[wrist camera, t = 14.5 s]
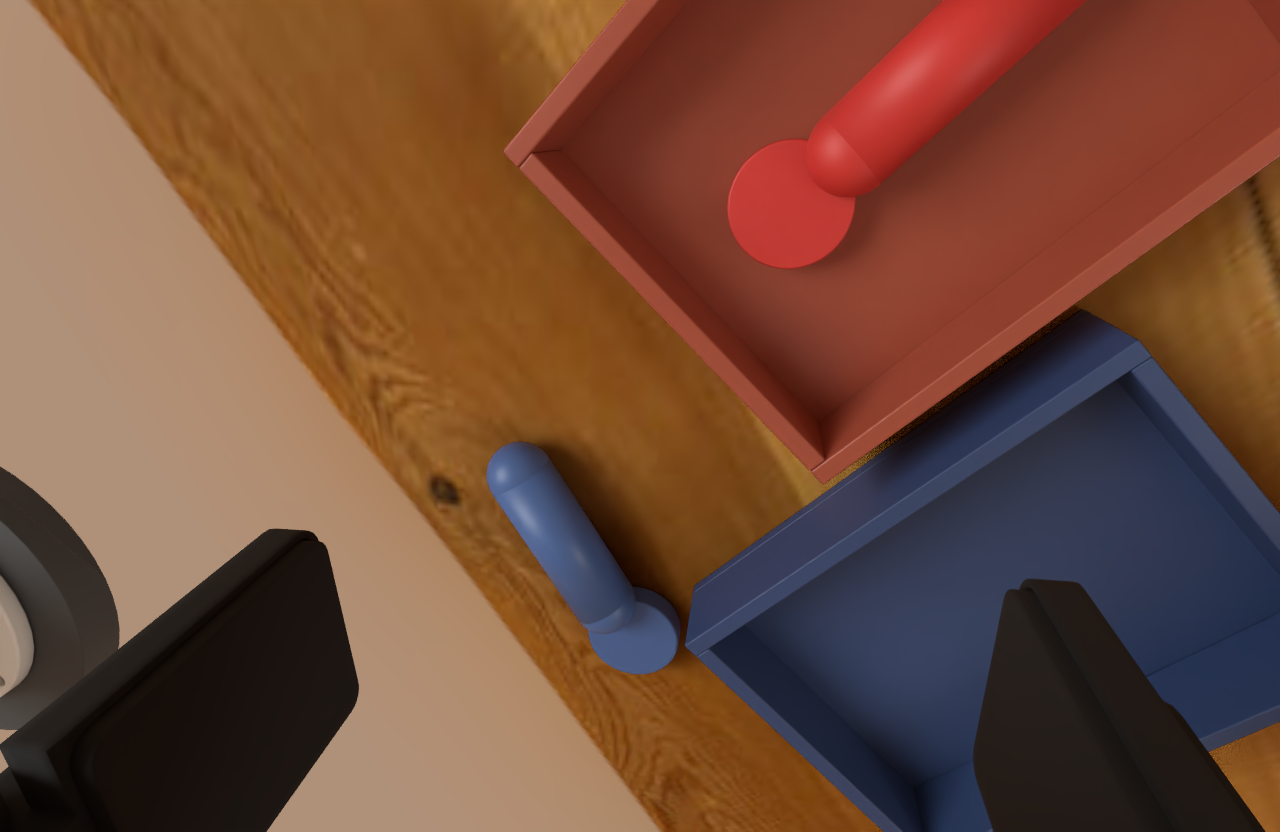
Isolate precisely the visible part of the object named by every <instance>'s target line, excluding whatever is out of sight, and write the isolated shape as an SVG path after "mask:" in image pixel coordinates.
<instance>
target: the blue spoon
mask: <svg viewBox="0 0 1280 832" xmlns="http://www.w3.org/2000/svg"><path fill="white" fill-rule="evenodd" d="M486 475H487V483H488V486H489V489H490V491H491V493H492V494H493V496H494V497H495V499H496V500H497V502H498V503H499V505H500V506H501V508H502V509H503V510H504V512H505V513H506V515H507V516H508V518H509V519H510V521H511V522H512V524H513V525H514V527H515V528H516V530H517V531H518V532H519V534H520V535H521V537H522V538H523V540H524V541H525V543H526V544H527V546H528V547H529V549H530V550H531V552H532V553H533V554H534V556H535V557H536V559H537V560H538V562H539V563H540V565H541V566H542V568H543V569H544V571H545V572H546V574H547V575H548V576H549V578H550V579H551V581H552V582H553V584H554V585H555V587H556V588H557V590H558V591H559V593H560V594H561V596H562V597H563V598H564V600H565V601H566V603H567V604H568V606H569V607H570V609H571V610H572V612H573V613H574V615H575V616H576V618H577V619H578V620H579V622H580V623H581V624H582V625H583V626H584V627H585V628H586V629H588V630H589V639H590V642H591V645H592V647H593V649H594V651H595V652H596V654H597V655H598V656H599V657H600V658H601V659H602V660H603V661H604V662H605V663H607V664H608V665H610V666H611V667H613V668H615V669H617V670H620V671H622V672H626V673H631V674H648V673H652V672H655V671H658V670H660V669H662V668H664V667H665V666H666V665H668V664H669V663H670V661H671V660H672V659H673V658H674V656H675V654H676V652H677V648H678V643H679V637H680V630H681V627H680V620H679V617H678V615H677V613H676V611H675V609H674V608H673V606H672V605H671V604H670V603H669V602H668V601H667V600H666V599H665V598H664V597H662V596H661V595H659V594H657V593H655V592H653V591H651V590H648V589H645V588H640V587H632V586H631V584H630V582H629V581H628V579H627V577H626V576H625V574H624V573H623V571H622V570H621V568H620V567H619V565H618V563H617V562H616V560H615V559H614V557H613V556H612V554H611V553H610V551H609V550H608V548H607V546H606V545H605V543H604V542H603V540H602V539H601V537H600V536H599V534H598V533H597V531H596V529H595V528H594V526H593V525H592V523H591V522H590V520H589V519H588V517H587V515H586V514H585V512H584V511H583V509H582V508H581V506H580V505H579V503H578V502H577V500H576V498H575V497H574V495H573V494H572V492H571V491H570V489H569V488H568V486H567V484H566V483H565V481H564V480H563V478H562V477H561V475H560V474H559V472H558V471H557V469H556V467H555V466H554V464H553V463H552V461H551V460H550V458H549V457H548V455H547V454H546V453H545V452H544V451H543V450H542V449H541V448H540V447H538V446H536V445H534V444H531V443H528V442H513V443H510V444H507V445H505V446H503V447H501V448H500V449H499V450H498V451H497V452H496V453H495V454H494V455H493V456H492V458H491V460H490V462H489V464H488V467H487V474H486Z"/></svg>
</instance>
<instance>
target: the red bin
mask: <svg viewBox="0 0 1280 832" xmlns="http://www.w3.org/2000/svg"><path fill="white" fill-rule="evenodd" d="M941 1H943V0H627V1H626V2H625V3H624V5H623V6H622V7H621V8H620V9H619V11H618V12H617V13H616V14H615V15H614V17H613V18H612V19H611V20H610V22H609V23H608V24H607V25H606V26H605V28H604V29H603V30H602V31H601V32H600V34H599V35H598V36H597V37H596V38H595V40H594V41H593V42H592V43H591V45H590V46H589V47H588V48H587V49H586V51H585V52H584V53H583V54H582V55H581V57H580V58H579V59H578V60H577V62H576V63H575V64H574V65H573V66H572V68H571V69H570V70H569V71H568V72H567V74H566V75H565V76H564V77H563V79H562V80H561V81H560V82H559V83H558V85H557V86H556V87H555V88H554V89H553V91H552V92H551V93H550V94H549V96H548V97H547V98H546V99H545V100H544V102H543V103H542V104H541V105H540V106H539V108H538V109H537V110H536V111H535V112H534V114H533V115H532V116H531V117H530V119H529V120H528V121H527V122H526V123H525V125H524V126H523V127H522V128H521V129H520V131H519V132H518V133H517V134H516V136H515V137H514V138H513V139H512V140H511V142H510V143H509V144H508V145H507V146H506V148H505V149H504V151H503V152H504V154H505V155H506V156H507V157H508V158H509V159H510V160H511V161H512V162H513V163H514V164H515V165H516V166H517V167H520V170H521V171H522V173H523V174H524V175H525V176H526V177H527V178H528V179H529V180H530V181H531V182H532V183H533V184H534V185H535V186H536V187H537V188H538V189H539V190H540V191H541V192H542V193H543V194H544V195H545V196H546V197H547V198H548V200H549V201H550V202H551V203H552V204H553V205H554V206H555V207H556V208H557V209H558V210H559V211H560V212H561V213H562V214H563V215H564V216H565V217H566V218H567V219H568V220H569V221H570V222H571V223H572V224H573V226H574V227H575V228H576V229H577V230H578V231H579V232H580V233H581V234H582V235H583V236H584V237H585V238H586V239H587V240H588V241H589V242H590V243H591V244H592V245H593V246H594V247H595V248H596V249H597V250H598V252H599V253H600V254H601V255H602V256H603V257H604V258H605V259H606V260H607V261H608V262H609V263H610V264H611V265H612V266H613V267H614V268H615V269H616V270H617V271H618V272H619V273H620V274H621V275H622V276H623V277H624V279H625V280H626V281H627V282H628V283H629V284H630V285H631V286H632V287H633V288H634V289H635V290H636V291H637V292H638V293H639V294H640V295H641V296H642V297H643V298H644V299H645V300H646V301H647V302H648V303H649V305H650V306H651V307H652V308H653V309H654V310H655V311H656V312H657V313H658V314H659V315H660V316H661V317H662V318H663V319H664V320H665V321H666V322H667V323H668V324H669V325H670V326H671V327H672V328H673V329H674V331H675V332H676V333H677V334H678V335H679V336H680V337H681V338H682V339H683V340H684V341H685V342H686V343H687V344H688V345H689V346H690V347H691V348H692V349H693V350H694V351H695V352H696V353H697V354H698V355H699V356H700V358H701V359H702V360H703V361H704V362H705V363H706V364H707V365H708V366H709V367H710V368H711V369H712V370H713V371H714V372H715V373H716V374H717V375H718V376H719V377H720V378H721V379H722V380H723V381H724V382H725V384H726V385H727V386H728V387H729V388H730V389H731V390H732V391H733V392H734V393H735V394H736V395H737V396H738V397H739V398H740V399H741V400H742V401H743V402H744V403H745V404H746V405H747V406H748V407H749V408H750V410H751V411H752V412H753V413H754V414H755V415H756V416H757V417H758V418H759V419H760V420H761V421H762V422H763V423H764V424H765V425H766V426H767V427H768V428H769V429H770V430H771V431H772V432H773V433H774V434H775V435H776V437H777V438H778V439H779V440H780V441H781V442H782V443H783V444H784V445H785V446H786V447H787V448H788V449H789V450H790V451H791V452H792V453H793V454H794V455H795V456H796V457H797V458H798V459H799V460H800V461H801V463H802V464H803V465H804V466H805V467H806V468H807V469H808V470H811V473H812V474H813V475H814V476H815V477H816V478H817V479H818V480H819V481H820V482H821V483H822V484H825V483H827V482H828V481H829V480H831V479H832V478H834V477H835V476H836V475H838V474H839V473H840V472H842V471H843V470H845V469H846V468H847V467H849V466H850V465H852V464H853V463H854V462H856V461H857V460H859V459H860V458H861V457H863V456H864V455H865V454H867V453H868V452H870V451H871V450H872V449H874V448H875V447H877V446H878V445H879V444H881V443H882V442H884V441H885V440H886V439H888V438H889V437H891V436H892V435H893V434H895V433H896V432H897V431H899V430H900V429H902V428H903V427H904V426H906V425H907V424H909V423H910V422H911V421H913V420H914V419H916V418H917V417H918V416H920V415H921V414H923V413H924V412H925V411H927V410H928V409H929V408H931V407H932V406H934V405H935V404H936V403H938V402H939V401H941V400H942V399H943V398H945V397H946V396H948V395H949V394H950V393H952V392H953V391H955V390H956V389H957V388H959V387H960V386H961V385H963V384H964V383H966V382H967V381H968V380H970V379H971V378H973V377H974V376H975V375H977V374H978V373H980V372H981V371H982V370H984V369H985V368H986V367H988V366H989V365H991V364H992V363H993V362H995V361H996V360H998V359H999V358H1000V357H1002V356H1003V355H1005V354H1006V353H1007V352H1009V351H1010V350H1012V349H1013V348H1014V347H1016V346H1017V345H1018V344H1020V343H1021V342H1023V341H1024V340H1025V339H1027V338H1028V337H1030V336H1031V335H1032V334H1034V333H1035V332H1037V331H1038V330H1039V329H1041V328H1042V327H1044V326H1045V325H1046V324H1048V323H1049V322H1050V321H1052V320H1053V319H1055V318H1056V317H1057V316H1059V315H1060V314H1062V313H1063V312H1064V311H1066V310H1067V309H1069V308H1070V307H1071V306H1073V305H1074V304H1076V303H1077V302H1078V301H1080V300H1081V299H1082V298H1084V297H1085V296H1087V295H1088V294H1089V293H1091V292H1092V291H1094V290H1095V289H1096V288H1098V287H1099V286H1101V285H1102V284H1103V283H1105V282H1106V281H1108V280H1109V279H1110V278H1112V277H1113V276H1114V275H1116V274H1117V273H1119V272H1120V271H1121V270H1123V269H1124V268H1126V267H1127V266H1128V265H1130V264H1131V263H1133V262H1134V261H1135V260H1137V259H1138V258H1139V257H1141V256H1142V255H1144V254H1145V253H1146V252H1148V251H1149V250H1151V249H1152V248H1153V247H1155V246H1156V245H1158V244H1159V243H1160V242H1162V241H1163V240H1165V239H1166V238H1167V237H1169V236H1170V235H1171V234H1173V233H1174V232H1176V231H1177V230H1178V229H1180V228H1181V227H1183V226H1184V225H1185V224H1187V223H1188V222H1190V221H1191V220H1192V219H1194V218H1195V217H1197V216H1198V215H1199V214H1201V213H1202V212H1203V211H1205V210H1206V209H1208V208H1209V207H1210V206H1212V205H1213V204H1215V203H1216V202H1217V201H1219V200H1220V199H1222V198H1223V197H1224V196H1226V195H1227V194H1229V193H1230V192H1231V191H1233V190H1234V189H1235V188H1237V187H1238V186H1240V185H1241V184H1242V183H1244V182H1245V181H1247V180H1248V179H1249V178H1251V177H1252V176H1254V175H1255V174H1256V173H1258V172H1259V171H1260V170H1262V169H1263V168H1265V167H1266V166H1267V165H1269V164H1270V163H1272V162H1273V161H1274V160H1276V159H1277V158H1279V157H1280V0H1087V1H1086V2H1085V3H1083V4H1082V5H1081V6H1080V7H1079V8H1078V9H1077V10H1076V11H1074V12H1073V13H1072V14H1071V15H1070V16H1069V17H1068V18H1067V19H1065V20H1064V21H1063V22H1062V23H1061V24H1060V25H1059V26H1058V27H1056V28H1055V29H1054V30H1053V31H1052V32H1051V33H1050V34H1049V35H1047V36H1046V37H1045V38H1044V39H1043V40H1042V41H1041V42H1040V43H1038V44H1037V45H1036V46H1035V47H1034V48H1033V49H1032V50H1031V51H1030V52H1028V53H1027V54H1026V55H1025V56H1024V57H1023V58H1022V59H1021V60H1019V61H1018V62H1017V63H1016V64H1015V65H1014V66H1013V67H1012V68H1010V69H1009V70H1008V71H1007V72H1006V73H1005V74H1004V75H1003V76H1001V77H1000V78H999V79H998V80H997V81H996V82H995V83H994V84H992V85H991V86H990V87H989V88H988V89H987V90H986V91H985V92H983V93H982V94H981V95H980V96H979V97H978V98H977V99H976V100H974V101H973V102H972V103H971V104H970V105H969V106H968V107H967V108H965V109H964V110H963V111H962V112H961V113H960V114H959V115H958V116H956V117H955V118H954V119H953V120H952V121H951V122H950V123H949V124H947V125H946V126H945V127H944V128H943V129H942V130H941V131H940V132H938V133H937V134H936V135H935V136H934V137H933V138H932V139H931V140H929V141H928V142H927V143H926V144H925V145H924V146H923V147H922V148H920V149H919V150H918V151H917V152H916V153H915V154H914V155H913V156H911V157H910V158H909V159H908V160H907V161H906V162H905V163H904V164H902V165H901V166H900V167H899V168H898V169H897V170H896V171H895V172H893V173H892V174H891V175H890V176H889V177H888V178H887V179H886V180H884V181H883V182H882V183H881V184H880V185H879V186H877V187H876V188H875V189H873V190H872V191H870V192H868V193H866V194H863V195H860V196H856V203H855V212H854V217H853V220H852V223H851V226H850V228H849V230H848V232H847V234H846V235H845V237H844V239H843V240H842V241H841V243H840V244H839V245H838V246H837V247H836V248H835V249H834V250H833V251H832V252H831V253H830V254H829V255H827V256H826V257H825V258H823V259H821V260H820V261H818V262H816V263H814V264H811V265H809V266H806V267H802V268H796V269H778V268H773V267H769V266H766V265H764V264H762V263H760V262H758V261H756V260H754V259H753V258H752V257H750V256H749V255H748V254H747V253H746V252H745V251H744V250H743V249H742V248H741V247H740V245H739V244H738V243H737V241H736V239H735V238H734V235H733V233H732V231H731V228H730V224H729V220H728V209H727V205H728V196H729V192H730V188H731V185H732V183H733V180H734V178H735V176H736V174H737V172H738V171H739V169H740V168H741V167H742V165H743V164H744V163H745V162H746V160H747V159H748V158H749V157H750V156H751V155H753V154H754V153H755V152H756V151H758V150H759V149H761V148H762V147H764V146H766V145H768V144H770V143H773V142H776V141H779V140H784V139H793V138H797V139H805V140H808V139H809V136H810V134H811V132H812V130H813V128H814V127H815V125H816V124H817V123H818V122H819V120H820V119H821V118H822V117H823V116H824V115H825V114H826V113H827V112H828V111H829V110H830V109H831V108H832V107H833V106H834V105H835V104H836V103H837V102H838V101H839V100H841V99H842V98H843V97H844V96H845V95H846V94H847V93H848V92H849V91H850V90H851V89H852V88H853V87H854V86H855V85H856V84H857V83H858V82H859V81H860V80H861V79H862V78H863V77H864V76H865V75H866V74H867V73H868V72H869V71H870V70H871V69H872V68H873V67H875V66H876V65H877V64H878V63H879V62H880V61H881V60H882V59H883V58H884V57H885V56H886V55H887V54H888V53H889V52H890V51H891V50H892V49H893V48H894V47H895V46H896V45H897V44H898V43H899V42H900V41H901V40H902V39H903V38H904V37H905V36H906V35H907V34H909V33H910V32H911V31H912V30H913V29H914V28H915V27H916V26H917V25H918V24H919V23H920V22H921V21H922V20H923V19H924V18H925V17H926V16H927V15H928V14H929V13H930V12H931V11H932V10H933V9H934V8H935V7H936V6H937V5H938V4H939V3H940V2H941Z"/></svg>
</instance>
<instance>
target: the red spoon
mask: <svg viewBox="0 0 1280 832" xmlns="http://www.w3.org/2000/svg"><path fill="white" fill-rule="evenodd" d="M1086 1H1087V0H943V1H941V2H940V3H939V4H938V5H937V6H936V7H935V8H934V9H933V10H932V11H931V12H930V13H929V14H928V15H927V16H926V17H925V18H924V19H923V20H922V21H921V22H920V23H919V24H918V25H917V26H916V27H915V28H914V29H913V30H912V31H911V32H910V33H909V34H907V35H906V36H905V37H904V38H903V39H902V40H901V41H900V42H899V43H898V44H897V45H896V46H895V47H894V48H893V49H892V50H891V51H890V52H889V53H888V54H887V55H886V56H885V57H884V58H883V59H882V60H881V61H880V62H879V63H878V64H877V65H876V66H875V67H873V68H872V69H871V70H870V71H869V72H868V73H867V74H866V75H865V76H864V77H863V78H862V79H861V80H860V81H859V82H858V83H857V84H856V85H855V86H854V87H853V88H852V89H851V90H850V91H849V92H848V93H847V94H846V95H845V96H844V97H843V98H842V99H841V100H839V101H838V102H837V103H836V104H835V105H834V106H833V107H832V108H831V109H830V110H829V111H828V112H827V113H826V114H825V115H824V116H823V117H822V118H821V119H820V120H819V122H818V123H817V124H816V125H815V127H814V128H813V130H812V132H811V134H810V136H809V139H808V140H805V139H797V138H793V139H784V140H779V141H776V142H773V143H770V144H768V145H766V146H764V147H762V148H761V149H759V150H758V151H756V152H755V153H754V154H753V155H751V156H750V157H749V158H748V159H747V160H746V162H745V163H744V164H743V165H742V167H741V168H740V169H739V171H738V172H737V174H736V176H735V178H734V180H733V183H732V185H731V188H730V192H729V196H728V205H727V209H728V220H729V224H730V228H731V231H732V233H733V235H734V238H735V239H736V241H737V243H738V244H739V245H740V247H741V248H742V249H743V250H744V251H745V252H746V253H747V254H748V255H749V256H750V257H752V258H753V259H754V260H756V261H758V262H760V263H762V264H764V265H766V266H769V267H773V268H778V269H796V268H802V267H806V266H809V265H811V264H814V263H816V262H818V261H820V260H821V259H823V258H825V257H826V256H827V255H829V254H830V253H831V252H832V251H833V250H834V249H835V248H836V247H837V246H838V245H839V244H840V243H841V241H842V240H843V239H844V237H845V235H846V234H847V232H848V230H849V228H850V226H851V223H852V220H853V217H854V212H855V203H856V196H860V195H863V194H866V193H868V192H870V191H872V190H873V189H875V188H876V187H877V186H879V185H880V184H881V183H882V182H883V181H884V180H886V179H887V178H888V177H889V176H890V175H891V174H892V173H893V172H895V171H896V170H897V169H898V168H899V167H900V166H901V165H902V164H904V163H905V162H906V161H907V160H908V159H909V158H910V157H911V156H913V155H914V154H915V153H916V152H917V151H918V150H919V149H920V148H922V147H923V146H924V145H925V144H926V143H927V142H928V141H929V140H931V139H932V138H933V137H934V136H935V135H936V134H937V133H938V132H940V131H941V130H942V129H943V128H944V127H945V126H946V125H947V124H949V123H950V122H951V121H952V120H953V119H954V118H955V117H956V116H958V115H959V114H960V113H961V112H962V111H963V110H964V109H965V108H967V107H968V106H969V105H970V104H971V103H972V102H973V101H974V100H976V99H977V98H978V97H979V96H980V95H981V94H982V93H983V92H985V91H986V90H987V89H988V88H989V87H990V86H991V85H992V84H994V83H995V82H996V81H997V80H998V79H999V78H1000V77H1001V76H1003V75H1004V74H1005V73H1006V72H1007V71H1008V70H1009V69H1010V68H1012V67H1013V66H1014V65H1015V64H1016V63H1017V62H1018V61H1019V60H1021V59H1022V58H1023V57H1024V56H1025V55H1026V54H1027V53H1028V52H1030V51H1031V50H1032V49H1033V48H1034V47H1035V46H1036V45H1037V44H1038V43H1040V42H1041V41H1042V40H1043V39H1044V38H1045V37H1046V36H1047V35H1049V34H1050V33H1051V32H1052V31H1053V30H1054V29H1055V28H1056V27H1058V26H1059V25H1060V24H1061V23H1062V22H1063V21H1064V20H1065V19H1067V18H1068V17H1069V16H1070V15H1071V14H1072V13H1073V12H1074V11H1076V10H1077V9H1078V8H1079V7H1080V6H1081V5H1082V4H1083V3H1085V2H1086Z"/></svg>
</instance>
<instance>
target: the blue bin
mask: <svg viewBox="0 0 1280 832" xmlns="http://www.w3.org/2000/svg"><path fill="white" fill-rule="evenodd" d="M1026 579H1043V580H1058V581H1074V582H1077V583H1079V584H1080V585H1081V586H1082V587H1083V588H1084V589H1085V590H1086V592H1087V593H1088V595H1089V596H1090V598H1091V599H1092V600H1093V602H1094V603H1095V605H1096V606H1097V608H1098V609H1099V610H1100V612H1101V613H1102V615H1103V616H1104V617H1105V619H1106V620H1107V622H1108V623H1109V625H1110V626H1111V627H1112V629H1113V630H1114V632H1115V633H1116V635H1117V636H1118V637H1119V639H1120V640H1121V642H1122V643H1123V645H1124V646H1125V647H1126V649H1127V650H1128V652H1129V653H1130V654H1131V656H1132V657H1133V659H1134V660H1135V662H1136V663H1137V664H1138V666H1139V667H1140V669H1141V670H1142V672H1143V673H1144V674H1145V676H1146V677H1147V679H1148V680H1149V681H1150V683H1151V684H1152V686H1153V687H1154V689H1155V690H1156V691H1157V693H1158V694H1159V696H1160V697H1161V699H1162V700H1163V701H1165V702H1167V703H1169V704H1171V705H1172V706H1174V708H1175V709H1176V710H1177V711H1178V712H1179V713H1180V714H1181V715H1182V716H1183V717H1184V719H1185V720H1186V722H1187V723H1188V724H1189V726H1190V727H1191V729H1192V730H1193V731H1194V733H1195V734H1196V736H1197V737H1198V738H1199V740H1200V741H1201V743H1202V744H1203V745H1204V747H1205V748H1206V749H1207V751H1208V752H1209V751H1212V750H1214V749H1217V748H1219V747H1221V746H1224V745H1226V744H1228V743H1231V742H1233V741H1235V740H1238V739H1240V738H1242V737H1245V736H1247V735H1250V734H1252V733H1254V732H1257V731H1259V730H1261V729H1264V728H1266V727H1268V726H1271V725H1273V724H1275V723H1278V722H1280V513H1279V511H1278V510H1277V509H1276V508H1275V506H1274V505H1273V504H1272V503H1271V501H1270V500H1269V499H1268V498H1267V497H1266V495H1265V494H1264V493H1263V492H1262V490H1261V489H1260V488H1259V487H1258V486H1257V484H1256V483H1255V482H1254V481H1253V479H1252V478H1251V477H1250V476H1249V474H1248V473H1247V472H1246V471H1245V470H1244V468H1243V467H1242V466H1241V465H1240V463H1239V462H1238V461H1237V460H1236V459H1235V457H1234V456H1233V455H1232V454H1231V452H1230V451H1229V450H1228V449H1227V447H1226V446H1225V445H1224V444H1223V443H1222V441H1221V440H1220V439H1219V438H1218V436H1217V435H1216V434H1215V433H1214V432H1213V430H1212V429H1211V428H1210V427H1209V425H1208V424H1207V423H1206V422H1205V420H1204V419H1203V418H1202V417H1201V416H1200V414H1199V413H1198V412H1197V411H1196V409H1195V408H1194V407H1193V406H1192V404H1191V403H1190V402H1189V401H1188V400H1187V398H1186V397H1185V396H1184V395H1183V393H1182V392H1181V391H1180V390H1179V389H1178V387H1177V386H1176V385H1175V384H1174V382H1173V381H1172V380H1171V379H1170V377H1169V376H1168V375H1167V374H1166V373H1165V371H1164V370H1163V369H1162V368H1161V366H1160V365H1159V364H1158V363H1157V362H1156V360H1155V359H1154V358H1153V357H1151V354H1150V353H1149V351H1148V350H1147V349H1146V348H1145V347H1144V345H1143V344H1142V343H1141V342H1140V341H1139V340H1138V339H1136V338H1134V337H1132V336H1130V335H1129V334H1127V333H1125V332H1123V331H1122V330H1120V329H1118V328H1116V327H1114V326H1113V325H1111V324H1109V323H1107V322H1106V321H1104V320H1102V319H1100V318H1098V317H1097V316H1095V315H1093V314H1091V313H1090V312H1088V311H1086V310H1084V309H1082V310H1080V311H1079V312H1077V313H1076V314H1075V315H1073V316H1072V317H1070V318H1069V319H1068V320H1066V321H1065V322H1063V323H1062V324H1061V325H1059V326H1058V327H1056V328H1055V329H1054V330H1052V331H1051V332H1049V333H1048V334H1047V335H1045V336H1044V337H1042V338H1041V339H1040V340H1038V341H1037V342H1035V343H1034V344H1033V345H1031V346H1030V347H1028V348H1027V349H1026V350H1024V351H1023V352H1021V353H1020V354H1019V355H1017V356H1016V357H1014V358H1013V359H1012V360H1010V361H1009V362H1007V363H1006V364H1005V365H1003V366H1002V367H1000V368H999V369H998V370H996V371H995V372H993V373H992V374H991V375H989V376H988V377H986V378H985V379H984V380H982V381H981V382H979V383H978V384H977V385H975V386H974V387H972V388H971V389H969V390H968V391H967V392H965V393H964V394H962V395H961V396H960V397H958V398H957V399H955V400H954V401H953V402H951V403H950V404H948V405H947V406H946V407H944V408H943V409H941V410H940V411H939V412H937V413H936V414H934V415H933V416H932V417H930V418H929V419H927V420H926V421H925V422H923V423H922V424H920V425H919V426H918V427H916V428H915V429H913V430H912V431H911V432H909V433H908V434H906V435H905V436H904V437H902V438H901V439H899V440H898V441H897V442H895V443H894V444H892V445H891V446H890V447H888V448H887V449H885V450H884V451H883V452H881V453H880V454H878V455H877V456H876V457H874V458H873V459H871V460H870V461H868V462H867V463H866V464H864V465H863V466H861V467H860V468H859V469H857V470H856V471H854V472H853V473H852V474H850V475H849V476H847V477H846V478H845V479H843V480H842V481H840V482H839V483H838V484H836V485H835V486H833V487H832V488H831V489H829V490H828V491H826V492H825V493H824V494H822V495H821V496H819V497H818V498H817V499H815V500H814V501H812V502H811V503H810V504H808V505H807V506H805V507H804V508H803V509H801V510H800V511H798V512H797V513H796V514H794V515H793V516H791V517H790V518H789V519H787V520H786V521H784V522H783V523H782V524H780V525H779V526H777V527H776V528H775V529H773V530H772V531H770V532H769V533H767V534H766V535H765V536H763V537H762V538H760V539H759V540H758V541H756V542H755V543H753V544H752V545H751V546H749V547H748V548H746V549H745V550H744V551H742V552H741V553H739V554H738V555H737V556H735V557H734V558H732V559H731V560H730V561H728V562H727V563H725V564H724V565H723V566H721V567H720V568H718V569H717V570H716V571H714V572H713V573H711V574H710V575H709V576H707V577H706V578H704V579H703V580H702V581H700V582H699V583H697V584H696V585H695V586H694V591H693V597H692V604H691V610H690V616H689V623H688V629H687V635H686V642H685V646H686V647H687V648H688V649H689V650H690V651H691V652H692V653H693V654H694V655H695V656H697V657H698V658H699V659H700V660H701V661H702V662H703V663H704V664H705V665H706V666H707V667H708V668H709V669H710V670H711V671H712V672H714V673H715V674H716V675H717V676H718V677H719V678H720V679H721V680H722V681H723V682H724V683H725V684H726V685H727V686H728V687H730V688H731V689H732V690H733V691H734V692H735V693H736V694H737V695H738V696H739V697H740V698H741V699H742V700H743V701H744V702H746V703H747V704H748V705H749V706H750V707H751V708H752V709H753V710H754V711H755V712H756V713H757V714H758V715H759V716H761V717H762V718H763V719H764V720H765V721H766V722H767V723H768V724H769V725H770V726H771V727H772V728H773V729H774V730H775V731H777V732H778V733H779V734H780V735H781V736H782V737H783V738H784V739H785V740H786V741H787V742H788V743H789V744H790V745H791V746H793V747H794V748H795V749H796V750H797V751H798V752H799V753H800V754H801V755H802V756H803V757H804V758H805V759H806V760H807V761H809V762H810V763H811V764H812V765H813V766H814V767H815V768H816V769H817V770H818V771H819V772H820V773H821V774H822V775H823V776H825V777H826V778H827V779H828V780H829V781H830V782H831V783H832V784H833V785H834V786H835V787H836V788H837V789H838V790H840V791H841V792H842V793H843V794H844V795H845V796H846V797H847V798H848V799H849V800H850V801H851V802H852V803H853V804H854V805H856V806H857V807H858V808H859V809H860V810H861V811H862V812H863V813H864V814H865V815H866V816H867V817H868V818H869V819H870V820H872V821H873V822H874V823H875V824H876V825H877V826H878V827H879V828H880V829H881V830H882V831H883V832H993V829H992V826H991V823H990V820H989V817H988V814H987V811H986V808H985V805H984V802H983V799H982V796H981V793H980V790H979V786H978V783H977V780H976V776H975V771H974V764H973V749H974V743H975V738H976V733H977V728H978V723H979V718H980V713H981V708H982V703H983V698H984V694H985V689H986V684H987V679H988V674H989V669H990V664H991V659H992V654H993V649H994V644H995V639H996V634H997V629H998V624H999V619H1000V614H1001V609H1002V604H1003V599H1004V596H1005V593H1006V592H1007V590H1009V589H1017V590H1019V589H1020V585H1021V584H1022V582H1023V581H1024V580H1026Z"/></svg>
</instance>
